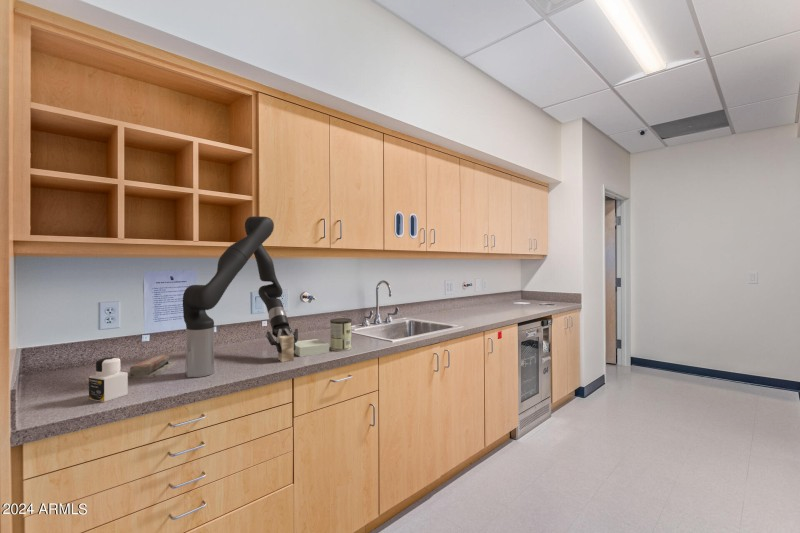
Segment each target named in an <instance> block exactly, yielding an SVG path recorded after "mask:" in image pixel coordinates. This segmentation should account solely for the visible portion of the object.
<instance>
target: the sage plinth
mask: <svg viewBox="0 0 800 533" xmlns="http://www.w3.org/2000/svg"><path fill="white" fill-rule="evenodd" d="M295 345H296V349H295V351H294V355H296V356H297V357H308V356H314V355H321V354H328V353H330V343H328V342H326V341H323V340H321V339H318V338H314V339H305V340H297V342H296V343H295Z"/></svg>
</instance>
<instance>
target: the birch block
mask: <svg viewBox="0 0 800 533" xmlns="http://www.w3.org/2000/svg"><path fill="white" fill-rule="evenodd" d="M279 340H280V342H279V343H280V344H281V348H282V352H281V353H279V352H278V351H277V356H278V357H277V358H278V359H277V360H278V361H279V360H280V361H279V362H281V363H286V362H291V361H294V360H295V359H294V357H295V356H294V355H295V354H294V335H292V336H288V335H287V336H281V337H279Z"/></svg>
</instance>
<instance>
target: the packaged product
mask: <svg viewBox="0 0 800 533" xmlns="http://www.w3.org/2000/svg"><path fill="white" fill-rule="evenodd" d="M176 363H177V362H176V361H170V356H169V355H166V354H162V355H161V354H160V355H157V356H156V355H155V356H153V357H149V358H148V359H145V360H143V361H140V362H139V363H136V364H134V365H132V366H130V368H129V369H130V370H129V371H130V372H129V373H128V379H142V378H143V379H145V378H154V377H156V376H157V375H160V374H161V373H163V372H165V371H168V370H169V369H171V368H172V367H173V366H176Z"/></svg>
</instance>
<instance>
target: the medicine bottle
mask: <svg viewBox="0 0 800 533" xmlns="http://www.w3.org/2000/svg"><path fill="white" fill-rule="evenodd" d="M128 374H129V373H128V372H124V371H121V359H120V357H119V358H118V357H116V356H114V357H113V356H112V357H111V356H110V357H104V358H100V359H98V360H97V361H96V362H95V374H93V375H89V377H88V399H89V400H91V401H96V402H102V403H106V402H110V401H113V400H117V399H119V398H122V397H125V396H127V395H128V394H129V393H128V392H129V390H128V386H129V385H128V384H129V382H128V380H129V378H128Z"/></svg>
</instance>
